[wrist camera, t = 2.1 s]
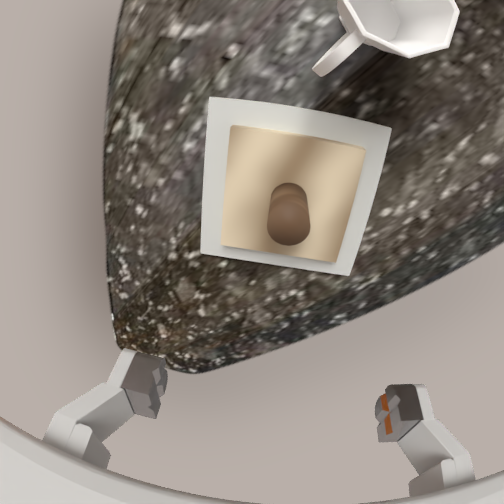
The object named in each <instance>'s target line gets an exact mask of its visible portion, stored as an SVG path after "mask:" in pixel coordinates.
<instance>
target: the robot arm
mask: <svg viewBox="0 0 504 504" xmlns="http://www.w3.org/2000/svg"><path fill="white" fill-rule="evenodd" d="M165 365H166V362H165V358H161V357H157V356H153V355H149V354H145V353H141V352H138V351H134V350H130V349H126V348H124V349H123V351H122V352H121V353H120V356H119V358H118V360H117V362H116V364H115V366H114V368H113V370H112V372H111V374H110V376H109V379H108V381H107V383H101V384H99V385H98V386H96V387H95V388H93V389H92V390H90V391H88V392H87V393H85V394H84V395H82V396H81V397H79V398H77V399H76V400H74V401H72V402H71V403H69V404H68V405H66V406H64V407H63V408H61V409H60V410H58V411H56V413H55V415H54V417H53V419H52V421H51V423H50V425H49V427H48V429H47V431H46V433H45V436H44V438H43V440H40V439H38V438H36V437H34V436H32V435H30V434H29V433H26V432H25V431H23V430H22V429H20V428H18V427H16V426H15V425H13V424H11V423H10V422H8V421H6V420H5V419H3V418H2V417H0V504H259V503H249V502H240V501H232V500H225V499H218V498H212V497H206V496H201V495H196V494H191V493H186V492H182V491H177V490H173V489H169V488H165V487H161V486H157V485H154V484H150V483H146V482H143V481H140V480H136V479H133V478H130V477H127V476H124V475H121V474H118V473H115V472H112V471H109V470H107V465H108V462H109V459H110V456H111V455H110V453H109V451H108V450H107V449H106V447H105V446H104V445H103V444H102V441H104V440H105V439H106V438H107V437H108V436H110V435H111V434H112V433H113V432H115V431H116V430H117V429H118V428H119V427H121V426H122V425H123V424H124V423H125V422H127V421H128V420H129V419H130V418H131V417H132V416H133V415H134V414H138V415H142V416H145V417H149V418H154V419H156V418H157V414H158V411H159V408H160V405H161V403H160V399H159V397H161V396H162V395H164V393H165V390H166V385H167V377H168V376H167V371H166V370H165V369H164V368H165ZM385 392H386V393H385V394H383V395H381V396H380V397H379V398H378V400H377V402H376V406H375V416H376V419H377V420H378V421H379V422H380V424H379V425H378V427H377V432H378V439H379V442H397V443H398V444H399V446H400V447H401V449H402V450H403V452H404V453H405V454H406V456H407V458H408V459H409V460H410V462H411V464H412V465H413V466H414V468H415V469H416V471H417V472H418V474H419V476H418V477H416V478H414V479H413V480H411V481H410V482H409V493H410V497H407V498H401V499H394V500H387V501H380V502H371V503H361V504H504V470H503V471H501V472H498V473H495V474H493V475H490V476H487V477H484V478H481V479H479V480H475V475H474V470H473V465H472V461H471V456H470V453H469V452H468V451H467V450H466V449H465V448H464V447H463V445H462V444H461V443H460V442H459V441H458V440H457V439H456V438H455V437H454V436H453V435H452V434H451V432H450V431H449V430H448V429H447V428H446V427H445V426H444V425H443V424H442V423H441V422H440V421H439V420H438V419H435V417H434V414H433V409H432V406H431V402H430V398H429V395H428V391H427V388H426V386H425V385H424V384H414V385H412V384H401V385H389V386H388V387H387V388H386V389H385Z"/></svg>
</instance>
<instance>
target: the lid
mask: <svg viewBox="0 0 504 504" xmlns="http://www.w3.org/2000/svg"><path fill="white" fill-rule="evenodd" d="M365 154H366V150H365V148H364V147H362V146H358V145H353V144H349V143H344V142H339V141H335V140H330V139H325V138H319V137H314V136H308V135H303V134H297V133H291V132H284V131H278V130H271V129H264V128H256V127H248V126H240V125H232V126H231V127H230V135H229V145H228V156H227V167H226V179H225V191H224V203H223V216H222V230H221V244H220V245H224V246H231V247H237V248H244V249H250V250H257V251H263V252H270V253H276V254H283V255H289V256H296V257H302V258H309V259H315V260H322V261H328V262H335V263H336V261H337V258H338V254H339V251H340V248H341V244H342V241H343V238H344V234H345V231H346V227H347V224H348V220H349V217H350V213H351V209H352V206H353V202H354V198H355V194H356V191H357V187H358V183H359V179H360V175H361V171H362V167H363V162H364V158H365Z"/></svg>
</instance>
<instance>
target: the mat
mask: <svg viewBox="0 0 504 504" xmlns="http://www.w3.org/2000/svg"><path fill="white" fill-rule="evenodd" d="M232 125H240V126H248V127H256V128H264V129H271V130H278V131H284V132H291V133H297V134H303V135H308V136H314V137H319V138H325V139H330V140H335V141H339V142H344V143H349V144H353V145H358V146H362V147H364V148H365V150H366V154H365V158H364V162H363V167H362V171H361V175H360V179H359V183H358V187H357V191H356V194H355V198H354V202H353V206H352V209H351V213H350V217H349V220H348V224H347V227H346V231H345V234H344V238H343V241H342V244H341V248H340V251H339V254H338V258H337V261H336V263H335V262H328V261H322V260H315V259H309V258H302V257H296V256H289V255H283V254H276V253H270V252H263V251H257V250H250V249H244V248H237V247H231V246H224V245H220V244H221V230H222V216H223V203H224V191H225V179H226V167H227V156H228V145H229V135H230V127H231V126H232ZM391 130H392V128H390V127H386V126H383V125H379V124H375V123H371V122H367V121H363V120H359V119H355V118H351V117H346V116H342V115H337V114H332V113H327V112H322V111H317V110H312V109H306V108H300V107H294V106H288V105H281V104H274V103H267V102H259V101H251V100H242V99H231V98H219V97H209V107H208V119H207V132H206V146H205V162H204V179H203V199H202V223H201V253H202V254H208V255H215V256H221V257H227V258H234V259H240V260H247V261H253V262H260V263H266V264H273V265H279V266H286V267H292V268H299V269H305V270H312V271H319V272H325V273H332V274H339V275H346V276H349V275H350V272H351V269H352V266H353V264H354V261H355V258H356V255H357V252H358V249H359V246H360V243H361V240H362V236H363V233H364V230H365V227H366V224H367V220H368V217H369V214H370V210H371V207H372V204H373V200H374V197H375V193H376V190H377V186H378V182H379V179H380V175H381V171H382V167H383V163H384V159H385V155H386V151H387V147H388V143H389V139H390V134H391Z"/></svg>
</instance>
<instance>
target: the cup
mask: <svg viewBox="0 0 504 504" xmlns="http://www.w3.org/2000/svg"><path fill="white" fill-rule="evenodd" d="M337 10H338V12H339V14H340V16H339V19H340V21H341V23H342V25H343V26H344V28H345V30H346V33H345V34H344V35H343V36H342V37H341V38H340V39H339V40H338V41H337V42H336V43H335V44H334V45H333V46H332V47H331V48H330V49H329V50H328V51H327V52H326V53H325V55H324V56H323V57H322V58H321V59H320V60H319V61H318V62H317V63H316V64H315V65H314V67H313V68H312V70H313V71H314V72H315V73H317V74H318V75H319V76H320V77H322V76H324V75H326V74H328V73H329V72H331V71H332V70H333V69H334V68H335V67H337V66H338V65H339V64H340V63H342V62H343V61H344V60H345V59H346V58H347V57H348V56H349V55H350V54H351V53H352V52H354V51H355V50H356V49H357V48H358V47H359V46H360V45H361V44H362V43H364V44H367V45H369V46H374V47H376V48H378V49H380V50H382V51H385V52H390V53H394V54H397V55H400V56H403V57H407V58H412V57H415V56H419V55H422V54H426V53H429V52H433V51H437V50H441V49H445V48H449V45H450V42H451V38H452V35H453V32H454V29H455V26H456V22H457V19H458V15H459V12H460V11H459V9H458V7H457V5H456V3H455V1H454V0H337Z"/></svg>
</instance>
